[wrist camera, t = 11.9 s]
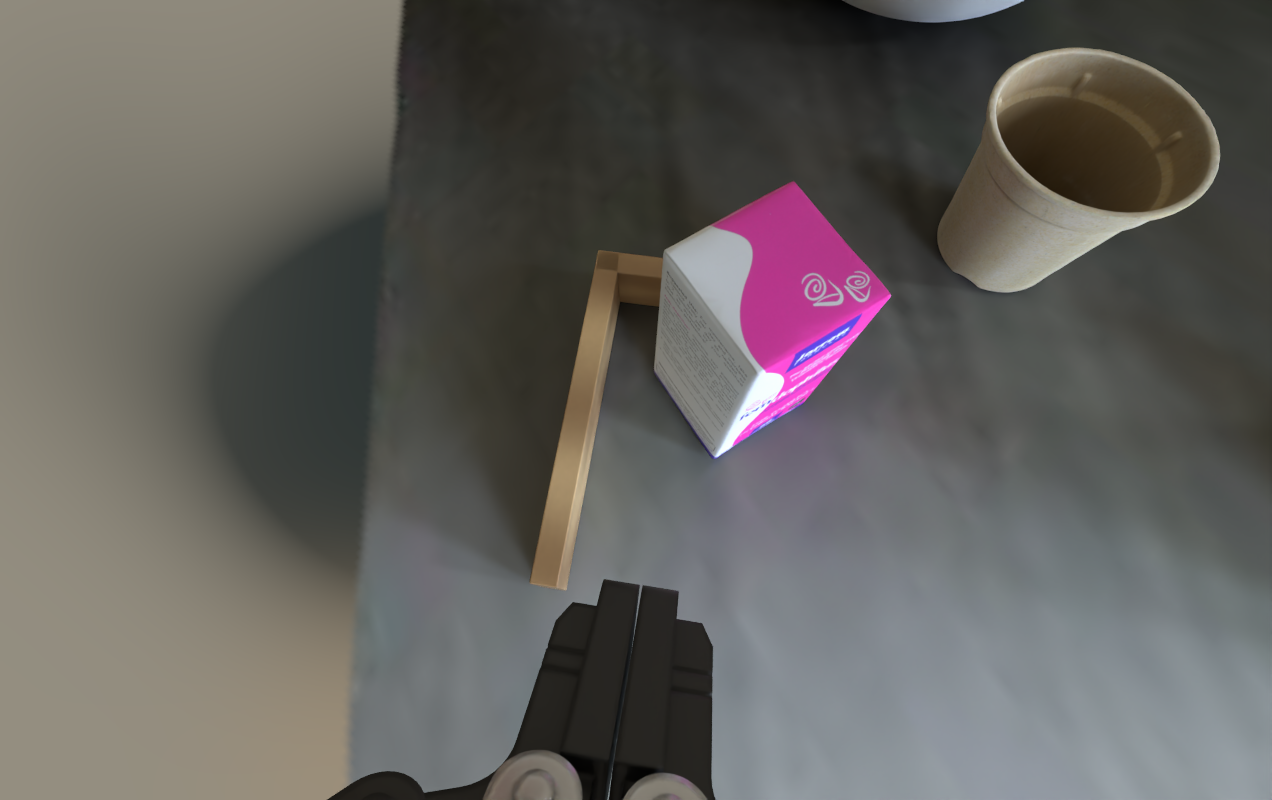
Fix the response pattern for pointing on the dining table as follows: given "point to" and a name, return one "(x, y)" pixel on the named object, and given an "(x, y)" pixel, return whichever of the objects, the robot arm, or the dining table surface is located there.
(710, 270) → the supplement box
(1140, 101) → the flower pot
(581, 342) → the corner fence
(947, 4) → the serving bowl
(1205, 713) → the dining table surface
